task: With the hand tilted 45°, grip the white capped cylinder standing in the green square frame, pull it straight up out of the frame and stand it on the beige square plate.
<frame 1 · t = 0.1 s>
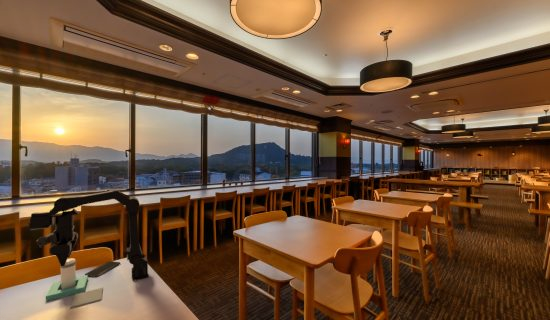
hand: (65, 261, 101), 15 cm above the table, tool pointing down, fingers open, 9 cm apart
white capped cylinder: (68, 275, 105), in the green square frame
phone: (103, 270, 124), on the table
beige square plate: (87, 297, 99), on the table
green square frame: (68, 289, 106), on the table
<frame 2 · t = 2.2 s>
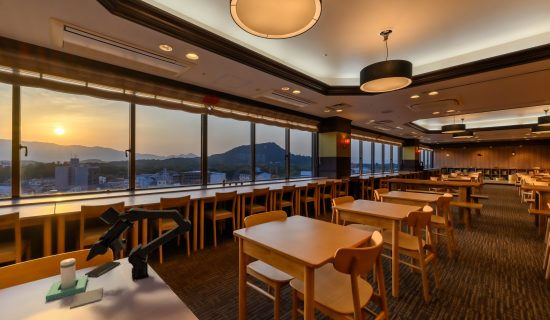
hand: (90, 256, 108), 13 cm above the table, tool tilted 45°, fingers open, 9 cm apart
nothing on the table moved.
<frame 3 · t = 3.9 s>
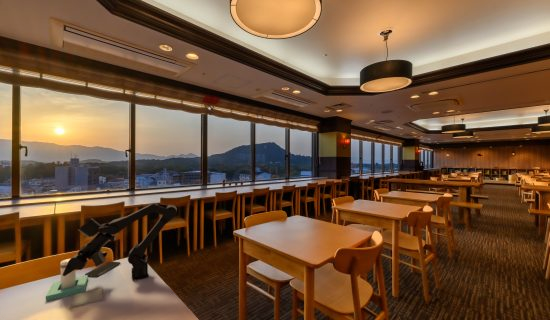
hand: (67, 270, 105), 8 cm above the table, tool tilted 45°, fingers open, 9 cm apart
nothing on the table moved.
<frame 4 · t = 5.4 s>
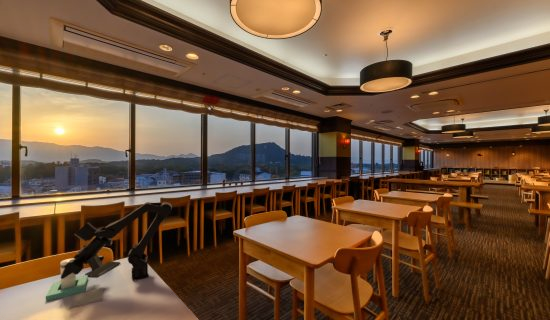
hand: (64, 275, 105), 7 cm above the table, tool tilted 45°, fingers closed on white capped cylinder, 5 cm apart
white capped cylinder: (68, 275, 105), in the green square frame, touching gripper
everything else where it was.
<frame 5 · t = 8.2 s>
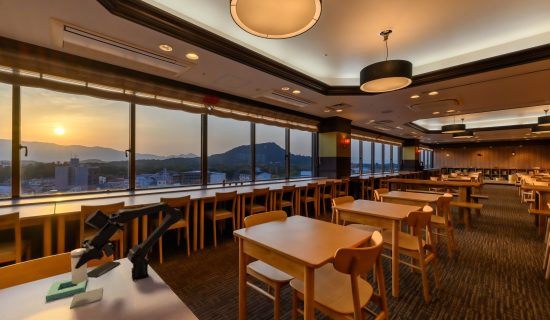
hand: (75, 266, 99), 13 cm above the table, tool tilted 45°, fingers closed on white capped cylinder, 5 cm apart
white capped cylinder: (79, 265, 100), point 13 cm above the table, touching gripper
everything else where it was.
when the fingers open (8 cm above the table, at t = 10.7 s): white capped cylinder stays where it is, resting on beige square plate.
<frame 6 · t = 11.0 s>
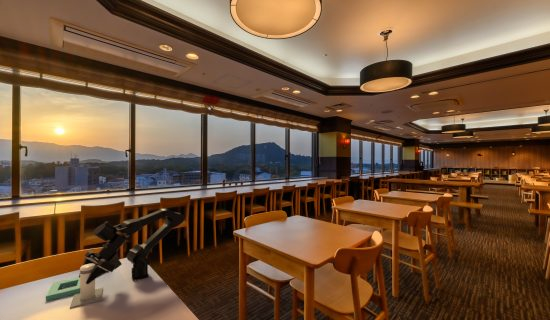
hand: (83, 280, 98), 8 cm above the table, tool tilted 45°, fingers open, 8 cm apart
white capped cylinder: (87, 281, 99), on the beige square plate
everything else where it was.
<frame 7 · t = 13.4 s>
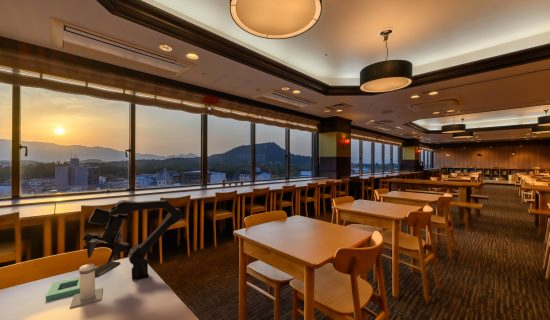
hand: (98, 260, 106), 13 cm above the table, tool tilted 20°, fingers open, 9 cm apart
nothing on the table moved.
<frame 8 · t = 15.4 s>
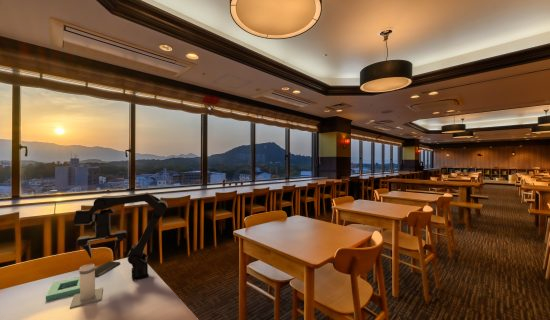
hand: (103, 255, 111), 13 cm above the table, tool pointing down, fingers open, 9 cm apart
nothing on the table moved.
at the end: white capped cylinder 0.1 cm off-centre on the beige square plate, point 7.0 cm above the beige square plate's base; white capped cylinder tilted 0°; white capped cylinder touching beige square plate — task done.
